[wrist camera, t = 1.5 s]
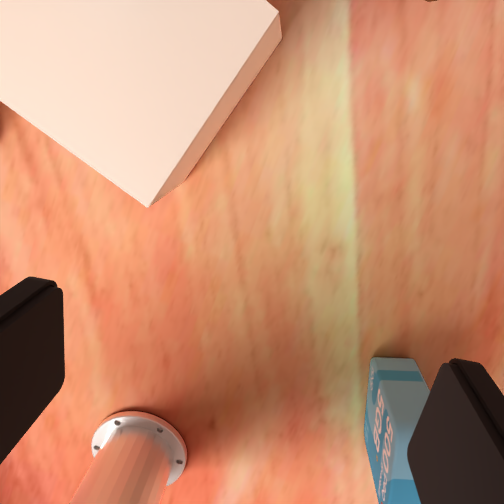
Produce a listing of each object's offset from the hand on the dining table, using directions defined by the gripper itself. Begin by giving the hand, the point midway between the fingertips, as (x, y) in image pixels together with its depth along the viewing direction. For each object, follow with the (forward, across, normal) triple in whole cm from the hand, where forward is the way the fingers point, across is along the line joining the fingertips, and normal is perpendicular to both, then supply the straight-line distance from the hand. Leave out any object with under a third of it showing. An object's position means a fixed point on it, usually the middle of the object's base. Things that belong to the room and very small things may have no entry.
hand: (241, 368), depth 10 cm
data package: (+31, -17, +24) cm, 43 cm away
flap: (+21, +14, -9) cm, 27 cm away
